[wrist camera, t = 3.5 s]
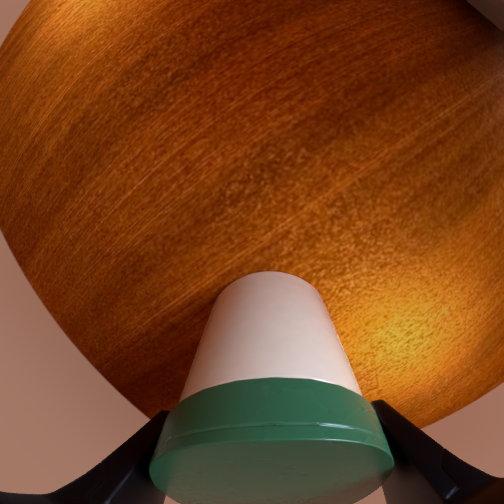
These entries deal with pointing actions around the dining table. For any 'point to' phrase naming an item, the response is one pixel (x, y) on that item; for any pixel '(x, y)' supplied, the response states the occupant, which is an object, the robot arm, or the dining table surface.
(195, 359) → the jar
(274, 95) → the dining table surface
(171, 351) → the dining table surface
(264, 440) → the lid
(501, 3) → the bowl
